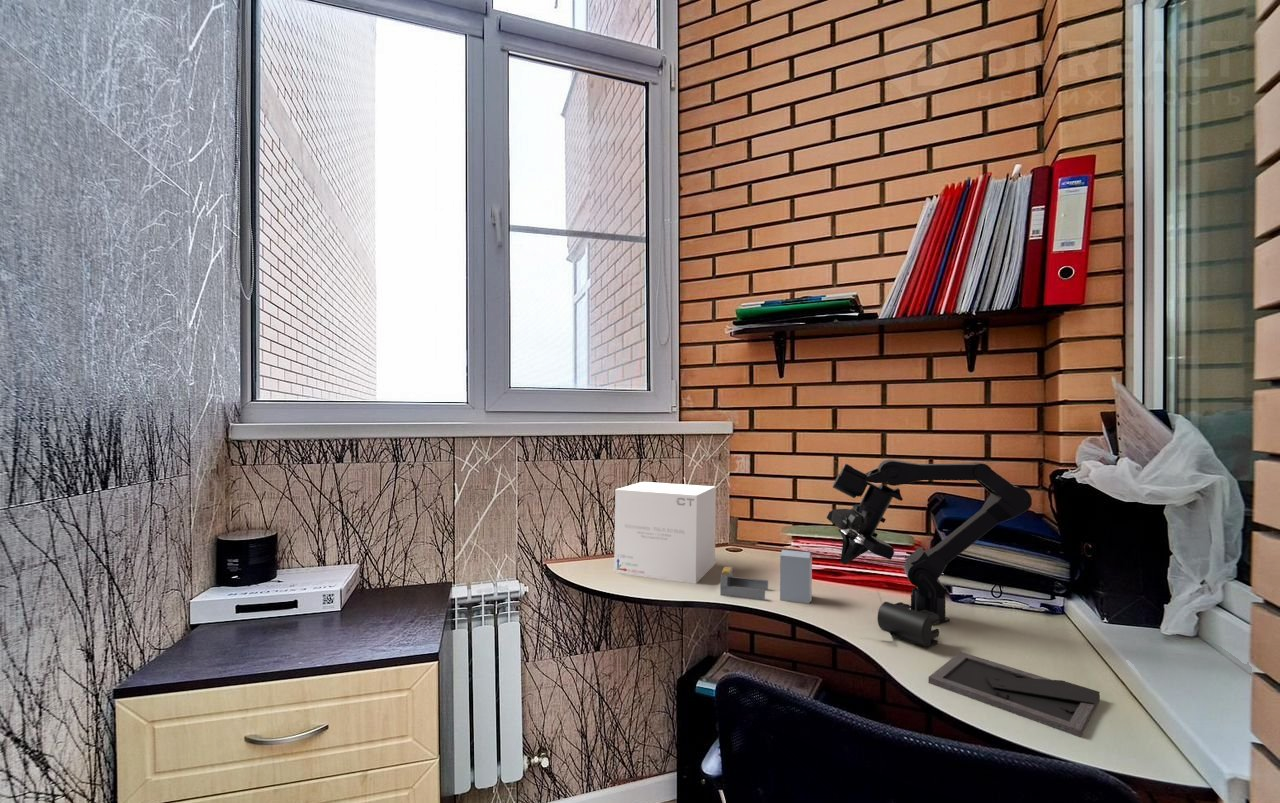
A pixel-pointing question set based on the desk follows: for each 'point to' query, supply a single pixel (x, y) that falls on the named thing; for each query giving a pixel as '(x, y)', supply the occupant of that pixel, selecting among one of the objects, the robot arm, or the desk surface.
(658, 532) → the cube
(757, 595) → the rack deck
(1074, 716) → the picture frame
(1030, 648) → the desk surface
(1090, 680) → the desk surface
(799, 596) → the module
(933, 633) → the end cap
